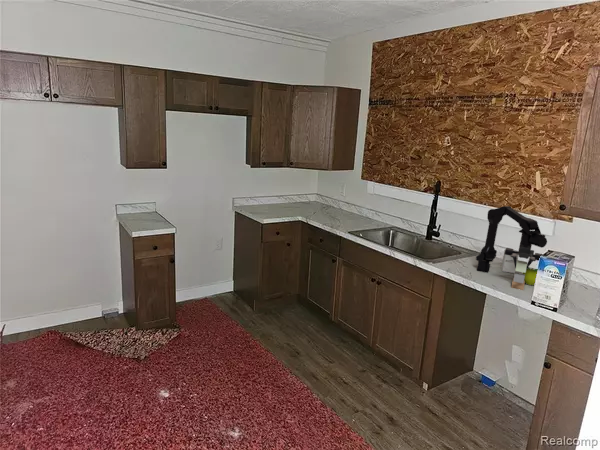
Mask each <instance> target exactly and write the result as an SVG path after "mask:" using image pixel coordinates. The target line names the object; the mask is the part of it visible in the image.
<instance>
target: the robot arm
mask: <svg viewBox="0 0 600 450" xmlns="http://www.w3.org/2000/svg"><path fill="white" fill-rule="evenodd" d="M504 216H507V217H509V218H510V219H511V220H513V221H515V222H516V223H517V224H518V226H519V227H520V228H521V229H519V230H518V233H519V234H520V233H521V237H520V241H519V242H520V243H519V246H518V250H514V248H511V247H506V248H505V249H504V250H505V255H511V257H513V260H514V264H515V268H516V263H517V255H518V258H522V259H526V260H528V261H527V268H526V270H527V269H528V268H530V266H531V264H532V263H533V262H536V261H539V258H540V256H541V255H542V254H543V253H538V252H535V250H533V249H532V246H535V247H539V248H545V247H546V245H547V243H548V240H547V238H546V234H542V233H541V229H540V227H539V225H538V224H539V222H538V221H537V220H536V219H533V218H530V217H526V216H525V215H523V214H521V213H520V212H518V211H517V210H515V209H514V208H512V206H511V205H510V206H509V205H504V206H501V207H497V208H490V209H489V210H488V212H487V217H486V218H487V221H488V228H487V233H486V239H485V244H484V245H483V247H482V248H481V251H480V253H479V254H478V255H477V256H476V257H475V260H476V261H477V268H476V271H478V272H483V273H489V272H490V268H491V263H492V262H493V261H494V259H496V258H497V253H498V251H497V249H496V248H495V243H496V237H497V233H498V227H499V224H500V223H501V222H502V220H503V217H504ZM539 262H540V261H539Z"/></svg>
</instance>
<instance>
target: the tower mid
mask: <svg viewBox="0 0 600 450" xmlns="http://www.w3.org/2000/svg"><path fill="white" fill-rule="evenodd" d="M524 277H525V274H522V272H517V271H515V273H514V276H513V278H514V280H513V279H512V281H514V282H518V283H523V282H524Z"/></svg>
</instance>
